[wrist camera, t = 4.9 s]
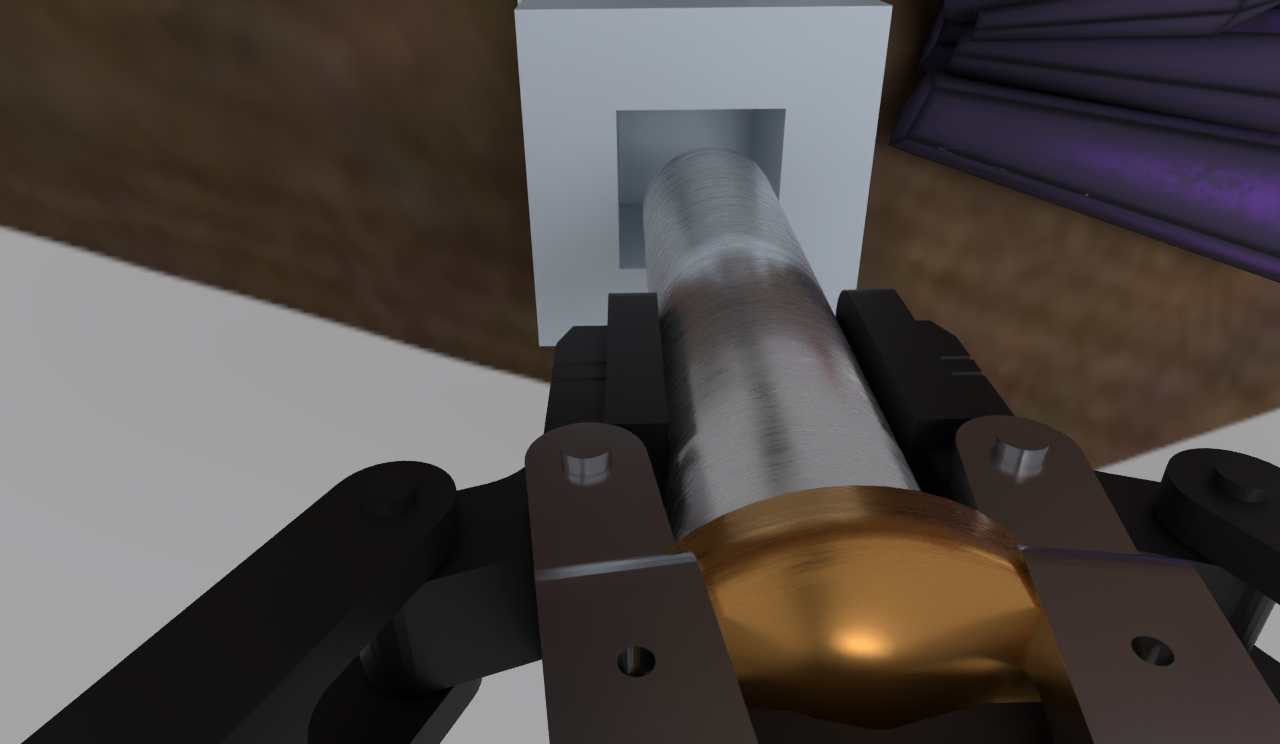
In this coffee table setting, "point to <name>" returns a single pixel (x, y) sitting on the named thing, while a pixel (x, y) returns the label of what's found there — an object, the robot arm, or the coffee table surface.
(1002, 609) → the lock pin
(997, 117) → the crystal
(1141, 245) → the coffee table surface
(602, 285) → the tensioner bracket
